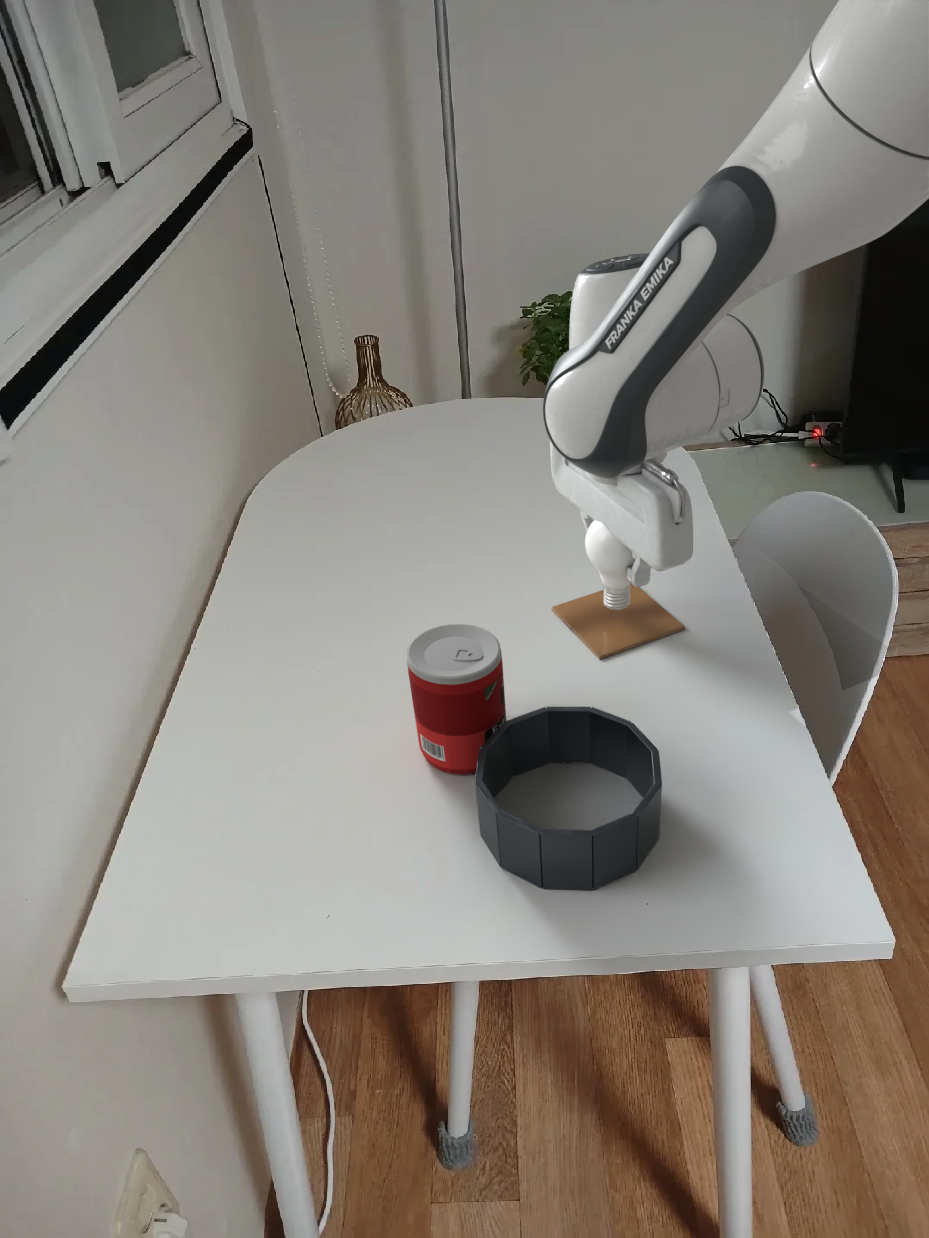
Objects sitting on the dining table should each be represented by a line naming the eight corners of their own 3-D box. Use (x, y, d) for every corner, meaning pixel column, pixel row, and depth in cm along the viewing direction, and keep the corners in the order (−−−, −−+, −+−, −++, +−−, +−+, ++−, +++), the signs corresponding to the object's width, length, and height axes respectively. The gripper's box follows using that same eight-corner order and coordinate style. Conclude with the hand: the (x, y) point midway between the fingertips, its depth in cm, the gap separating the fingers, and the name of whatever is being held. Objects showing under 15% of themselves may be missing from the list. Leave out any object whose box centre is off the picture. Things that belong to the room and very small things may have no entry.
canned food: (508, 775, 82) (501, 676, 76) (416, 779, 83) (402, 680, 76) (507, 717, 88) (501, 620, 82) (422, 720, 89) (409, 624, 83)
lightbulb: (643, 589, 101) (646, 496, 95) (651, 623, 96) (655, 528, 89) (583, 592, 101) (582, 500, 95) (588, 627, 96) (587, 532, 90)
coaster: (684, 629, 97) (684, 626, 97) (599, 659, 94) (599, 656, 94) (631, 583, 105) (631, 580, 105) (551, 609, 102) (551, 606, 102)
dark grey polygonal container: (693, 846, 74) (698, 792, 71) (531, 917, 70) (528, 862, 66) (599, 738, 85) (599, 686, 82) (454, 794, 81) (448, 741, 77)
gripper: (716, 471, 81) (706, 606, 89) (592, 395, 96) (593, 515, 104) (653, 490, 79) (648, 626, 87) (537, 409, 94) (542, 530, 102)
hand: (617, 565), depth 96 cm, fingers closed on lightbulb, 6 cm apart
